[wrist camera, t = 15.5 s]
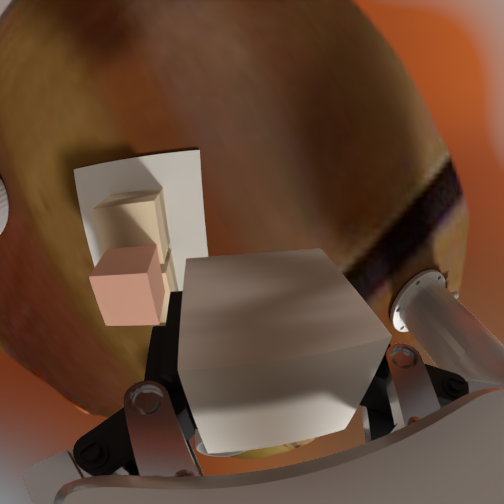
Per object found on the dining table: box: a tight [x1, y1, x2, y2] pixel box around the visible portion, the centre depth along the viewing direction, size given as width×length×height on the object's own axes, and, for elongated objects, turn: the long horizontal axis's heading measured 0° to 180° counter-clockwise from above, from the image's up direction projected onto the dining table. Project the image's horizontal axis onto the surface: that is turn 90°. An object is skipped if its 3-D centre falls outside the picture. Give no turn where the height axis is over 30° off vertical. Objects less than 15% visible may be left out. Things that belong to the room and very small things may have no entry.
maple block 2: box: [160, 250, 179, 322], centre depth 28 cm, size 6×6×5 cm
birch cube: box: [178, 248, 392, 454], centre depth 9 cm, size 5×5×5 cm
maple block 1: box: [92, 188, 170, 264], centre depth 25 cm, size 6×6×5 cm
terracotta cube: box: [89, 245, 165, 326], centre depth 22 cm, size 5×5×5 cm
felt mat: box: [74, 150, 208, 291], centre depth 29 cm, size 14×20×1 cm
